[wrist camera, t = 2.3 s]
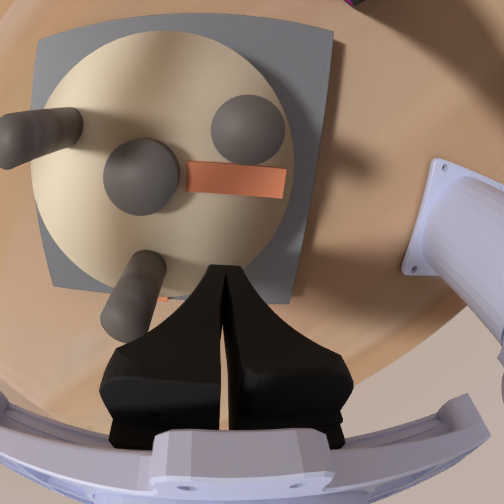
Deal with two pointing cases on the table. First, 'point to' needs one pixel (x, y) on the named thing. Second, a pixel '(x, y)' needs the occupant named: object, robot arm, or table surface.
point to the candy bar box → (354, 2)
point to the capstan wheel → (156, 167)
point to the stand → (278, 77)
